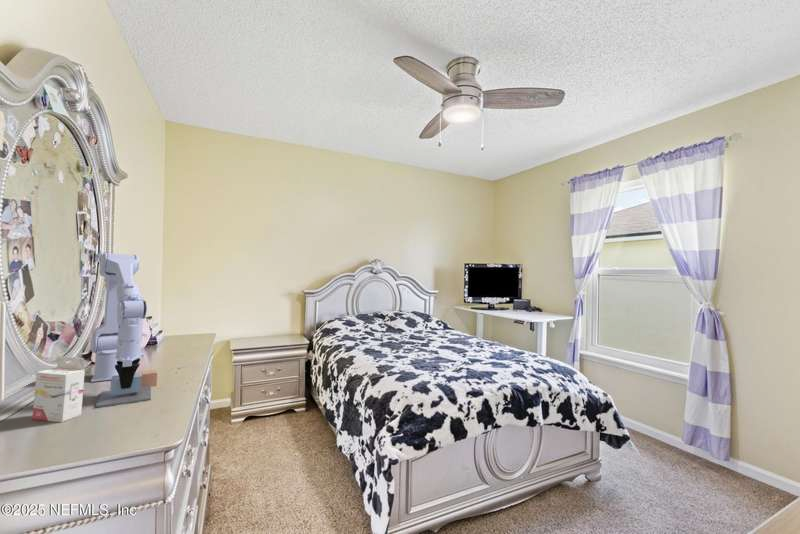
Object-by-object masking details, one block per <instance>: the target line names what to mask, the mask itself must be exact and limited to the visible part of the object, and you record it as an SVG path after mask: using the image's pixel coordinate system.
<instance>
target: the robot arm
mask: <svg viewBox="0 0 800 534" xmlns="http://www.w3.org/2000/svg"><path fill="white" fill-rule="evenodd" d="M140 263H141V262H140V257H139V256H138V255H137V254H123V253H121V254H120V253H108V252H103V253H102V254H101V255H100V259H99V276H101V277H103V278H105V279H106V292H105V305H104V315H103V324H101V325H99V326H98V327H96V328H95V329H93V331H92V333H91V337H90V344H89V346H90V352H92V353H93V354H95V359H94V369H93V370H94V371H93V376H92V378H91V380H90V382H92V383H95V382H103V381H105V382H106V381H111V379H112V376H115V375H119V379H120V385H121V389H126V388H130V387H131V385H132V381H133V378H134V374H135V372H137V371H138V368H139V367H140V365H141V364H140V361H141V357H143V358H144V357H146V353H145V352H142V341H143V340H142V339H143V337H142V336H143V325H144V320H145V318H146V316H147V311H148V305H147V301H146V300H145V299H144V298H143V297H142V294H141V290H140V287H139V285H138V284H137V283H135V281H134V275H135V274H136V273H137V272H138V271H139V269H140V268H139V267H140Z"/></svg>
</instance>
